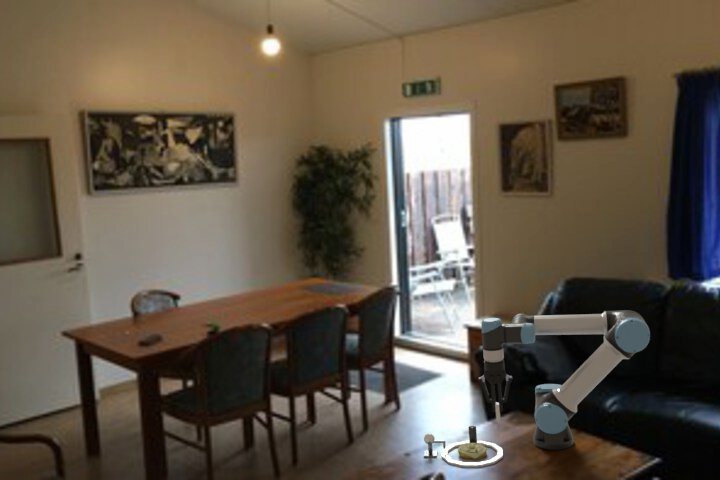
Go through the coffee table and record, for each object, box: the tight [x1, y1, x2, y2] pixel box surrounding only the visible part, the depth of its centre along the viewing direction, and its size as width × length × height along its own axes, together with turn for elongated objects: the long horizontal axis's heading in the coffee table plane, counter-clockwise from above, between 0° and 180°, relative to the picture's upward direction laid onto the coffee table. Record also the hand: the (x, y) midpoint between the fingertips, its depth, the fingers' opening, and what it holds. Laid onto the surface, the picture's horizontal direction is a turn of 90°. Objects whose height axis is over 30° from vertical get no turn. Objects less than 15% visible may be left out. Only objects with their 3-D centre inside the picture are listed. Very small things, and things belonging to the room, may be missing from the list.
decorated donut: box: [457, 443, 488, 461], centre depth 281 cm, size 10×11×4 cm
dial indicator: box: [423, 433, 447, 459], centre depth 284 cm, size 8×5×9 cm, turn 79°
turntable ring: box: [441, 425, 504, 468], centre depth 282 cm, size 23×24×7 cm
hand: (498, 420), depth 278 cm, fingers closed
